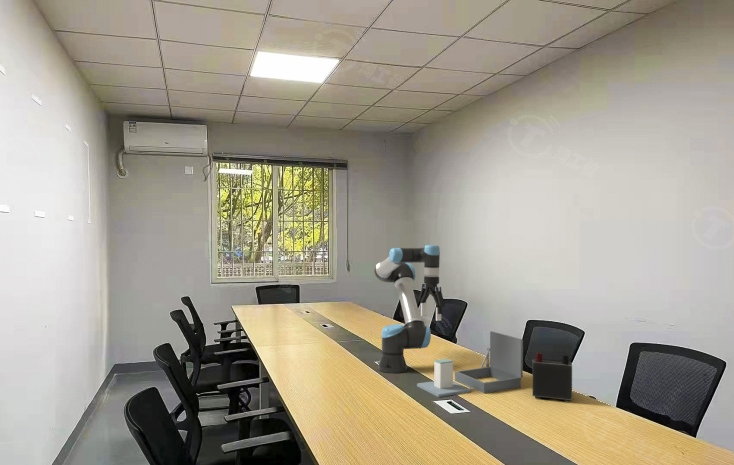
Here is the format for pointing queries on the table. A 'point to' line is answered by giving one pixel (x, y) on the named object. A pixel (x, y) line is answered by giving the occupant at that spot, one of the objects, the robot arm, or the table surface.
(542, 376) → the voltmeter
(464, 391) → the pad
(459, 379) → the case
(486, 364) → the tow hook
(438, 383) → the block
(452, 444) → the table surface
